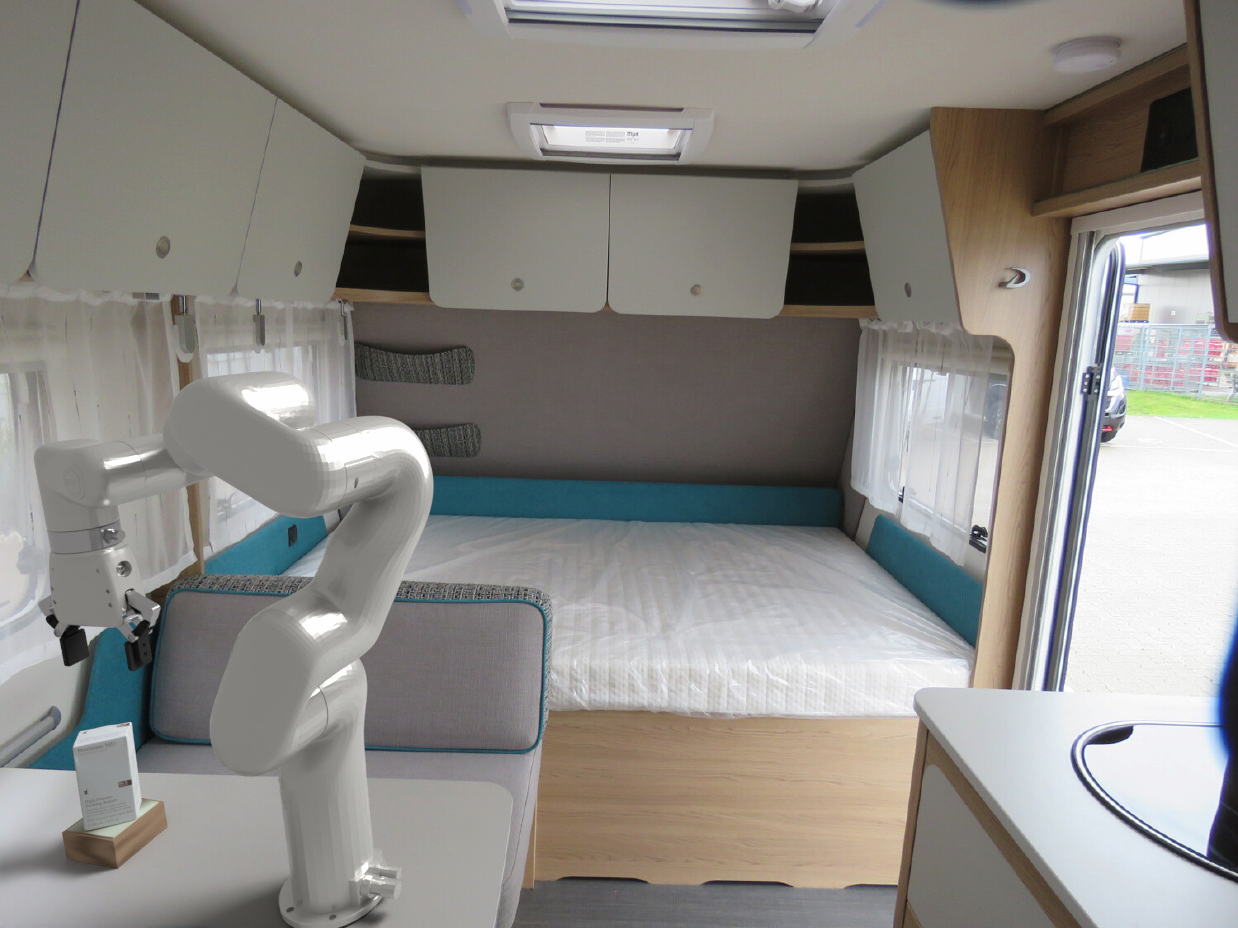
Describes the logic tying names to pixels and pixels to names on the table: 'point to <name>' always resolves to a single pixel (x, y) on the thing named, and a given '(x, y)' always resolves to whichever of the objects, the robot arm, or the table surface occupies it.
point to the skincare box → (107, 775)
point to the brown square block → (115, 837)
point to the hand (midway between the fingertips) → (108, 663)
